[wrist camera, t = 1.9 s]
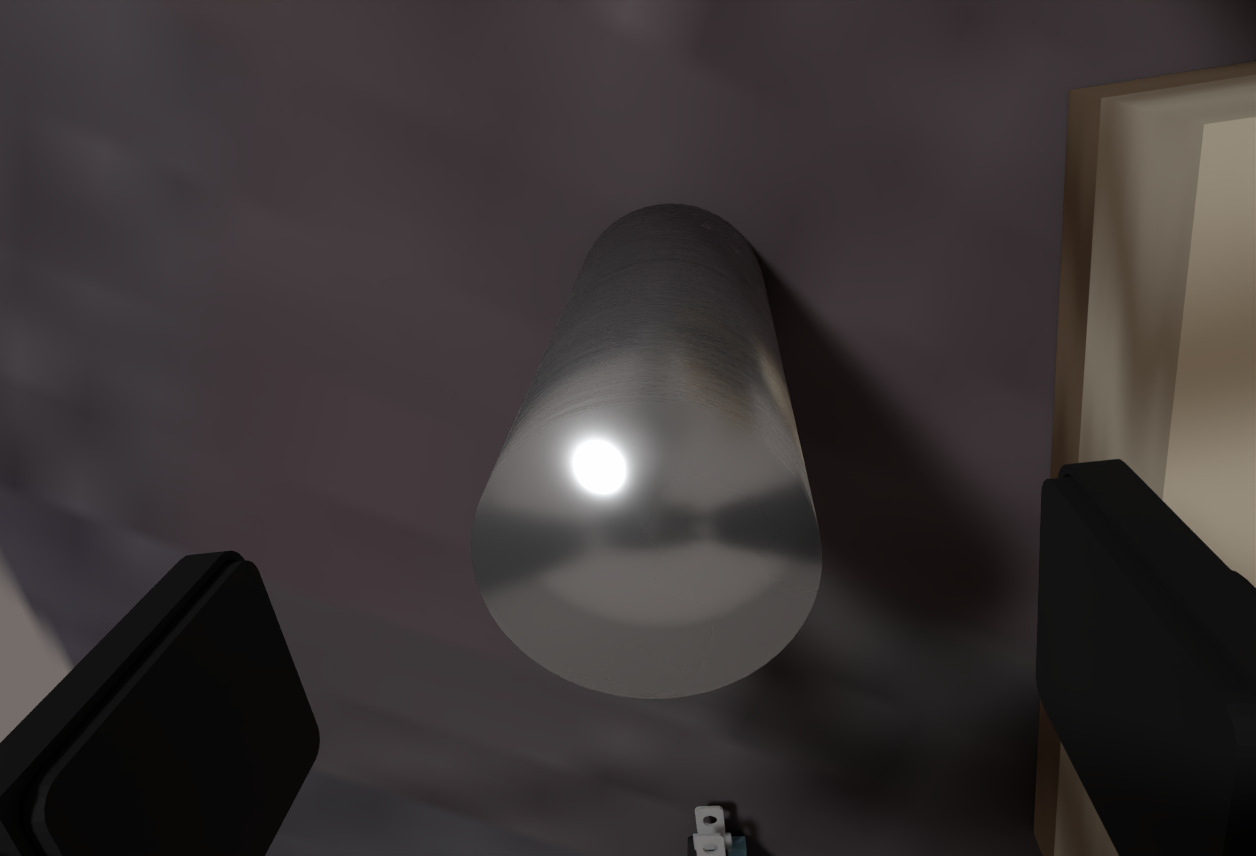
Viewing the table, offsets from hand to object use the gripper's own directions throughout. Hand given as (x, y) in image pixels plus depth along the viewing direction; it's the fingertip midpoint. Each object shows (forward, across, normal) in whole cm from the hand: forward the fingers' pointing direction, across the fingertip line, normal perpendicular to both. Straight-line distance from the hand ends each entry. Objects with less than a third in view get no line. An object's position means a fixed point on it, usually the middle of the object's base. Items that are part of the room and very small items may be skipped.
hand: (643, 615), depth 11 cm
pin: (+10, 0, -1) cm, 10 cm away
